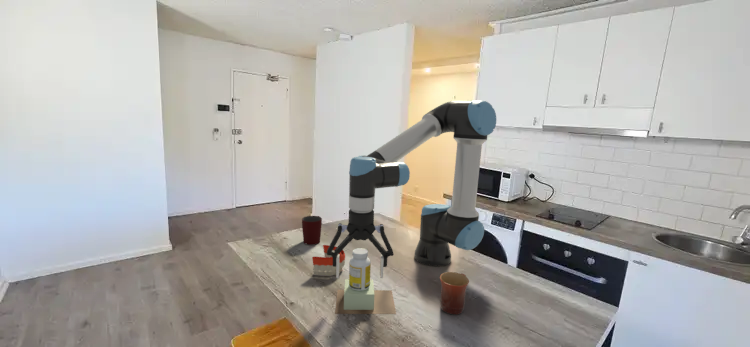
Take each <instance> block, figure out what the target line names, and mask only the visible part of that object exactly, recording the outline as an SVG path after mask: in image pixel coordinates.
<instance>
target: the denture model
mask: <svg viewBox="0 0 750 347" xmlns="http://www.w3.org/2000/svg"><path fill="white" fill-rule="evenodd" d="M329 246H330V244H329V245H328V244H323V245H322V247H323V254H324V257H323V256H311V259H312V266H313V275H314V276H322V277H323V276H325V277H330V276H331V277H332V276H334V275H336V267H333V257H332V256H331V255H327V249H328V248H329ZM337 247H338V246H335V247H334V249H333V250H335V249H336V248H337ZM345 265H346V254H345V251H344V249H343V250H342V251H341V252H340V253H339V274H340V273H341V272H342V271H343V268H344V266H345Z"/></svg>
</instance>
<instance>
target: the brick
mask: <svg viewBox="0 0 750 347" xmlns="http://www.w3.org/2000/svg"><path fill="white" fill-rule="evenodd" d="M343 290H344V310H374V290H375V284H374V279H373V278H372V279H371V278H370V286H369V288H368V289H366V290H363V291H356V290H353V289H351V288H350V286H349V278H345V279H344V289H343Z"/></svg>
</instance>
